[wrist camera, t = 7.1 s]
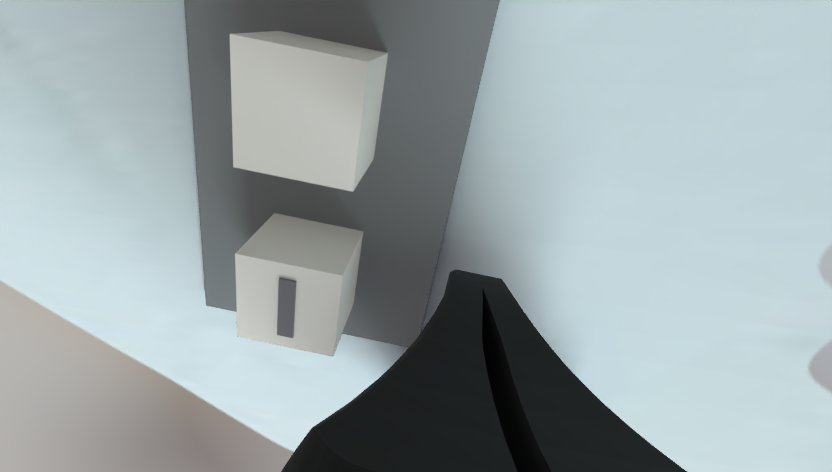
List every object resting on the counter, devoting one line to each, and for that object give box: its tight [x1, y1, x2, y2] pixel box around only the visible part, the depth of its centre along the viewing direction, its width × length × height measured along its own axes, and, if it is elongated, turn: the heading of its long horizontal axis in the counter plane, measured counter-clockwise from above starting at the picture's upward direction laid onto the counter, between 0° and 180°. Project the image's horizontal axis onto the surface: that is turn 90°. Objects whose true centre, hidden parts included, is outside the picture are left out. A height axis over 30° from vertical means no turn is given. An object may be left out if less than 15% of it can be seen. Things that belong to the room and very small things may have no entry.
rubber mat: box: [184, 0, 499, 347], centre depth 18 cm, size 25×12×1 cm, turn 170°
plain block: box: [230, 31, 388, 192], centre depth 16 cm, size 4×4×4 cm
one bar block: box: [235, 213, 363, 356], centre depth 20 cm, size 4×4×4 cm
